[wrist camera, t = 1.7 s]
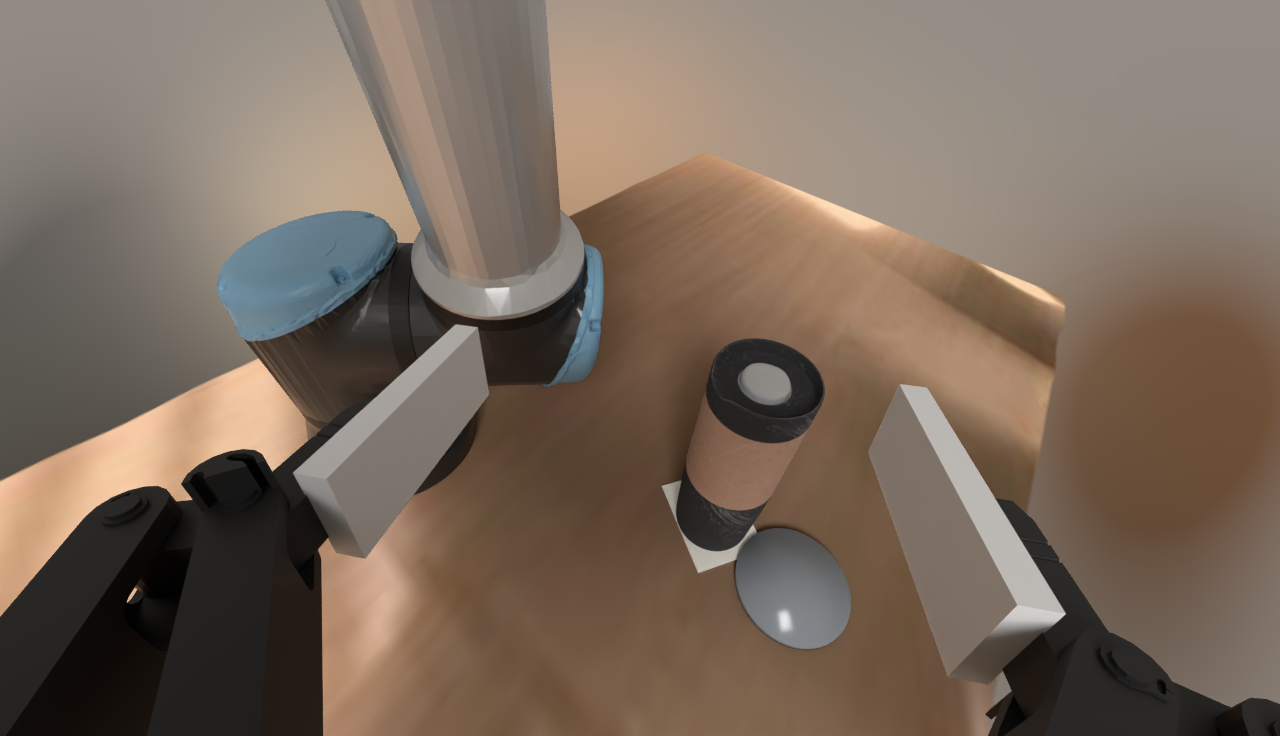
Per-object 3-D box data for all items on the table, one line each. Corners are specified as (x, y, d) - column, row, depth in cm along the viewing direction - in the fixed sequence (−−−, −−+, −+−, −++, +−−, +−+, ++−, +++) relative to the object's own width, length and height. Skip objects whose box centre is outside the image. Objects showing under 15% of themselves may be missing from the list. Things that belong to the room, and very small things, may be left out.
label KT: (661, 486, 46) (661, 485, 46) (722, 469, 48) (722, 468, 48) (698, 573, 40) (698, 572, 40) (765, 549, 42) (766, 548, 42)
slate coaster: (715, 548, 42) (717, 546, 41) (805, 518, 45) (807, 515, 44) (771, 669, 35) (773, 667, 35) (872, 624, 38) (875, 622, 38)
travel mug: (761, 503, 45) (838, 363, 31) (734, 571, 40) (812, 441, 26) (692, 468, 47) (734, 323, 33) (659, 529, 42) (692, 388, 28)
